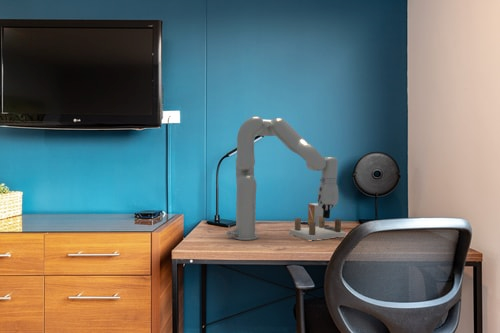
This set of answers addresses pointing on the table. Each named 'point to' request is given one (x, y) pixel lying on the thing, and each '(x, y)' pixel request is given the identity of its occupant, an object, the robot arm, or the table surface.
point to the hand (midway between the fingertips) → (326, 217)
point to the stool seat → (314, 230)
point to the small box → (314, 213)
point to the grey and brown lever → (337, 226)
